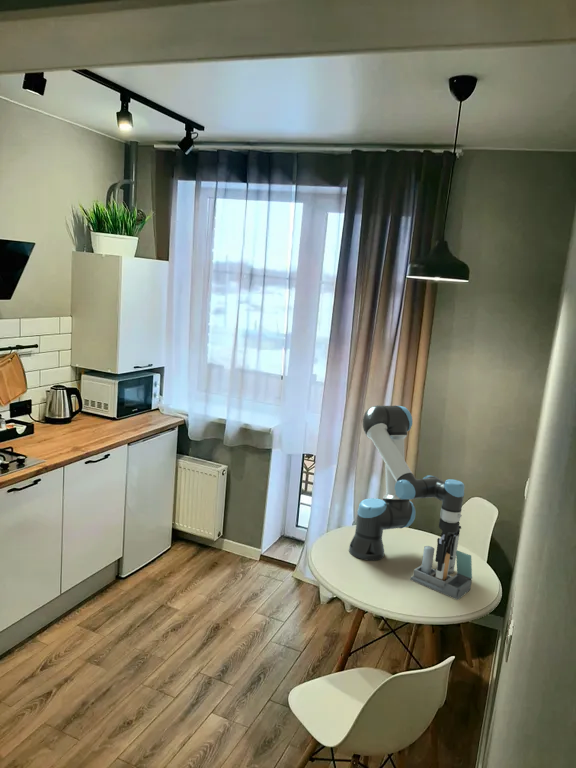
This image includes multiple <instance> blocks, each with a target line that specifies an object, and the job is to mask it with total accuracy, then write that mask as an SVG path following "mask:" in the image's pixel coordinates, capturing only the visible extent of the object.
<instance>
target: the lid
mask: <svg viewBox="0 0 576 768" xmlns="http://www.w3.org/2000/svg"><path fill="white" fill-rule="evenodd" d="M472 565H473V564H472V555H471V554H468V553H466V552H462V551H459V550H457V551H456V574H458V575H461V576H463V577H466V578H469V579H471V580H472V579H473V572H472V571H473V569H472Z"/></svg>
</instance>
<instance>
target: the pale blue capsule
mask: <svg viewBox="0 0 576 768" xmlns="http://www.w3.org/2000/svg"><path fill="white" fill-rule="evenodd" d="M434 553H435V548H434V547H433V546H430V545H425V546H424V548H423V554H422V562H421V565H422V567H421V572H423V573H426V574H428V575H430V574H431V570H432V569H433V562H434V556H435V554H434Z"/></svg>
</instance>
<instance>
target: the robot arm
mask: <svg viewBox="0 0 576 768" xmlns="http://www.w3.org/2000/svg"><path fill="white" fill-rule="evenodd" d="M363 414H364V415H363V417H362V428H363V431H364V434H365V436H366V437H367V438H368V439H370V440H371V441H372V443H373V445H374V447H375V448H376V450H377V452H378V453H379V455H380V457H381V459H382V460H383V462H384V463H385V464H384V466H385V494H384V495H383V496H382V499H380V498H374V497H373V498H372V497H371V498H370V497H369V498H365V499H363V500H361V501H360V502H359V505H358V509H357V516H356V525H355V533H354V535H353V537H352V540H351V542H350V543H349V548H348V552H349V553H350V554H351V556H353V557H355V558H357V559H361V560H365V561H379V560H382V559H383V558H384V556H385V548H384V547H385V546H384V542H383V533H384V530H385V531H386V530H394V529H403V528H408V527H410V526H411V525H412V524H413V523H414V522H415V519H416V506H414V503H413V502H412V501H411V500H415V499H416V500H417V499H428V498H435V499H437V500H439V501H441V508H440V515H439V520H438V521H439V522H438V528H439V529H440V530H441V533H440V537H438V538H437V539H436V542H437V544H436V545H437V547H436V553H435V559H434V561H435V562H436V563H437V565H436V569H435V570H436V577H437V578H440V579H443V573H444V567H445V563H444V560H445V556H446V552H447V553H449V554H450V559H451V560H452V559H453V557H451V556H453V553H454V546H455V540H456V536H457V532H458V530H459V526H460V521H461V518H462V514H461V513H462V508H463V502H464V496H465V484H464V482H462V481H461V480H458V479H452V478H451V479H449V478H448V479H446V480H442V479H440V478H439V477H437V476H436V475H435V476H434V475H430V474H428V475H425V476H424V477H423V478H416V476H415V475H414V473H413V472H412V470H411V468H410V467H409V465H408V463H407V462H406V460H405V457H406V456H405V439H406V438H407V436H408V432H409V431H410V430H411V429H412V427H413V416H412V413H411V412H410V411H409V409H408V408H407V407H405V406H401V405H396V404H395V405H379V404H378V405H373V406H371V407H369V408H368V409H367V410H366V411H365V413H363ZM449 564H450V560H449ZM448 571H449V567H448ZM447 575H449V574H448V573H447Z"/></svg>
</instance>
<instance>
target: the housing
mask: <svg viewBox="0 0 576 768" xmlns="http://www.w3.org/2000/svg"><path fill="white" fill-rule="evenodd" d="M421 567H422V564H421V565H419V566H418V567H416V568H414V569H413V575H412V576H410V579H409V580H410V581H412V582H415V583H417V584H418V585H422V586H424V587H426V588H429V589H431V590H434V591H436V592H438V593H441V594H443V595H445V596H448V597H450V598H452V599H455V600H457V601H458V600H460V599H461V598H462V597H464V595H466V594H468V592H469V591H470V590H471V588H472V587H471V586H472V581H473V580H472V579H469V578H466V577H463V576H461V575H458V574H457V573H456V574H455V575H454V576H452V575H451V574H448V575H447V580H446V581H443V580H440V579H438V578H436V570H437V569H435V568H432V570H431V574H430V575H428V574H426V573H423V572H421Z"/></svg>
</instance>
